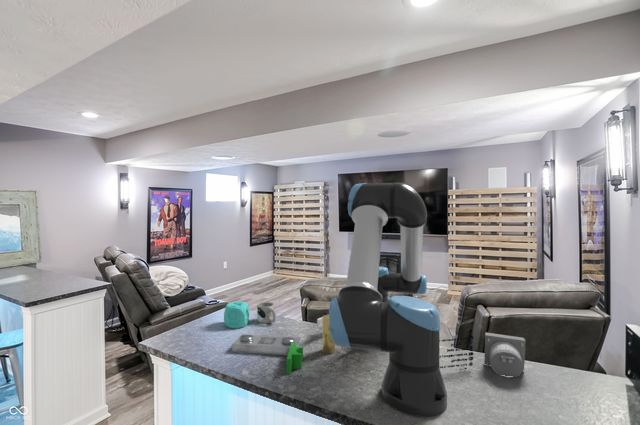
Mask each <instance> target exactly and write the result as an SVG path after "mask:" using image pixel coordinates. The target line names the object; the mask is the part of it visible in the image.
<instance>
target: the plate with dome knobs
mask: <svg viewBox="0 0 640 425" xmlns="http://www.w3.org/2000/svg"><path fill="white" fill-rule="evenodd" d="M300 339H301V338H300V337H295V336H293V337H292V336H279V335H278V336H275V335H261V334H260V335H258V334H245V333H244V334H243V333H242V334H240V336H239V337H238V338H237V339H236V340H235V341H234V342H233V343H232V352H233V353H245V354H260V355H275V356H285V357H287V356H288V353H289V350H290V347H291V344H292V342H295V343H296V347H301V346H300V344H301V343H300V342H301V341H300Z"/></svg>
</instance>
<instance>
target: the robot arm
mask: <svg viewBox="0 0 640 425" xmlns="http://www.w3.org/2000/svg"><path fill="white" fill-rule="evenodd" d="M347 211H348V212H347V213H348V215H349V217H351V220H352V221H353V223H354V228H353V229H354V230H353V235H352V236H353V237H352V241H351V242H352V243H351V249H350V256H349V262H348V269H347V277H346V281H345V286H343V287H341V288H340V289H339V292H338V296H337V297H336V296H335V297H332V298H331V299H330V301H329V302H330V303H329V307H328V310H329V311H324V312H323V316H324V315H329V325H330V333H331V337H332V340H333V342H334V343H335V346H336V345H337V346H340V347H344V348H348V349H359V350H365V351H366V350H367V351H374V352H375V351H376V352H384V353H388V354H389V358H388V365H387V366H386V370H385V374H384V375H383V378H382V381H381V396H382V398H383V400H384V401H385V403H386V404H387V405H388V406H390V407H391V408H392V409H393V410H396V411H398V412H400V413H403V414H407V415H410V416H415V417H432V416H436V415H440V414H441V413H443V412H444V411H445V410H446V408H447V406H448V392H447V391H448V390H447V389H446V384H445V382H444V379H443V376H442V373H441V368H439V367H440V358H439V356H440V342H439V340H440V332H441V329H442V328H441V323H440V311H439V310H438V308H437V307H436V306H435V305H433V304H432V303H431V302H428V301H426V300H424V299H422V298H417V297H413V296H408V295H392V296H391V297H389V293H399V294H400V293H401V294H411V295H425V294H426V293H427V275H425V274H422V272H423V271H422V270H423V246H424V245H423V244H424V242H423V240H424V226H426V224H427V221H428V211H427V207H426V204H425V202H424V200H423V198H422V197H421V195H420V194H419V193H418V191H416V190H415V189H414V188H413V187H411V186H410V185H408V184H406V183H403V182H363V183H356V184H354V185H353V186H352V187H351V189H350V191H349V194H348V202H347ZM389 219H397V220H396V221H397V223H398V225H399V226H400V273H399V272H389V268H388V267H386V266H385V267H384V266H380V260H381V249H382V235H383V227H384V226H386V224H387V223H388V221H389ZM323 316H322V317H319V318H317V319H316V328H318V329H319V328H321V327H323Z"/></svg>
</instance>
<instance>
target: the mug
mask: <svg viewBox="0 0 640 425" xmlns="http://www.w3.org/2000/svg"><path fill="white" fill-rule="evenodd" d="M256 308H257V312H256V313H257V314H256V315H257V319H256V320H257V323H259V324H262V325H263V324H264V325H266V324H272V323H275V322H276V319H277V312H276V311H275V304H274V303H273V302H270V301H269V302H267V301H264V302H260V303H258V304H257V306H256Z"/></svg>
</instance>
